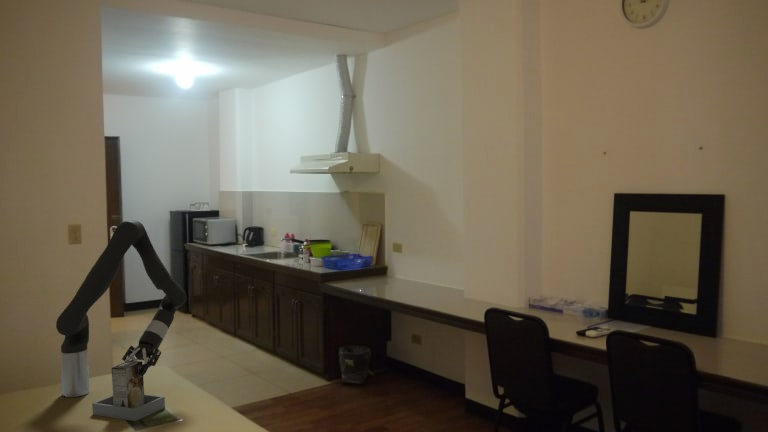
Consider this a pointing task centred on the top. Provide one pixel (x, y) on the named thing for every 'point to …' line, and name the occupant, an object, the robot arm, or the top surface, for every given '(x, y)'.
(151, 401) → the tray
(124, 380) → the coffee box
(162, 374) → the top surface
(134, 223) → the robot arm
